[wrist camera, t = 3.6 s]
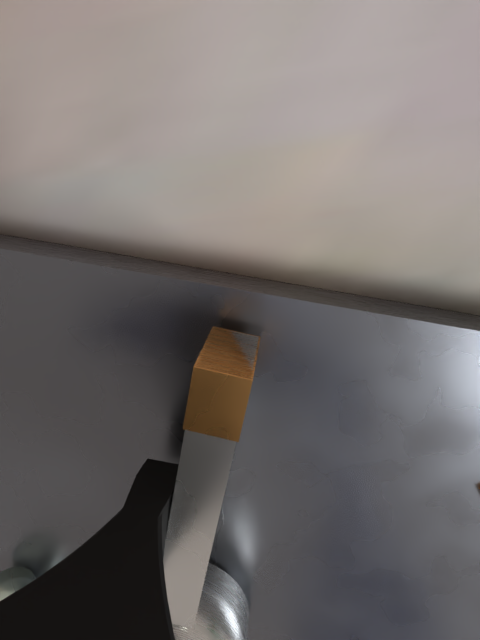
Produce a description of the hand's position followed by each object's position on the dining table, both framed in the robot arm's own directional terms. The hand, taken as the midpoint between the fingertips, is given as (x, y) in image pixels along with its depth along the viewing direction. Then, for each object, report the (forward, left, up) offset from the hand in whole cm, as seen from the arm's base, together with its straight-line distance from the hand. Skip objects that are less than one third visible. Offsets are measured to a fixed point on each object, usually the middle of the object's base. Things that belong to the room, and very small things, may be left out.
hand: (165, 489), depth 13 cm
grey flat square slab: (-4, -2, -3) cm, 5 cm away
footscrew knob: (-2, -1, -1) cm, 2 cm away
